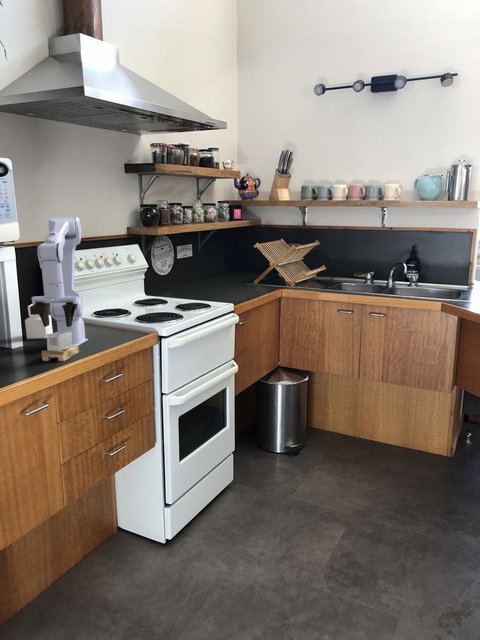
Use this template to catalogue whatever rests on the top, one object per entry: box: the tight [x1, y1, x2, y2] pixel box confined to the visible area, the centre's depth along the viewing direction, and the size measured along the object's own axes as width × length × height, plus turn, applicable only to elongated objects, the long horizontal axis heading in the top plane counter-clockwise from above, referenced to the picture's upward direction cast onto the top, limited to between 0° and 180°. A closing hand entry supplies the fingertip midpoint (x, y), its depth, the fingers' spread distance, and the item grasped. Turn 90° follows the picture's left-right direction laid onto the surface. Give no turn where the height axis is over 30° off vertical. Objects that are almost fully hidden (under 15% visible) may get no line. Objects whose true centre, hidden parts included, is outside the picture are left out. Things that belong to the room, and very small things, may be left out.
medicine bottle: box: [24, 303, 54, 340], centre depth 190 cm, size 7×7×12 cm
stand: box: [41, 346, 80, 362], centre depth 165 cm, size 10×7×3 cm
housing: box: [46, 331, 72, 351], centre depth 164 cm, size 8×4×5 cm, turn 170°
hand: (58, 326), depth 163 cm, fingers open, 7 cm apart
